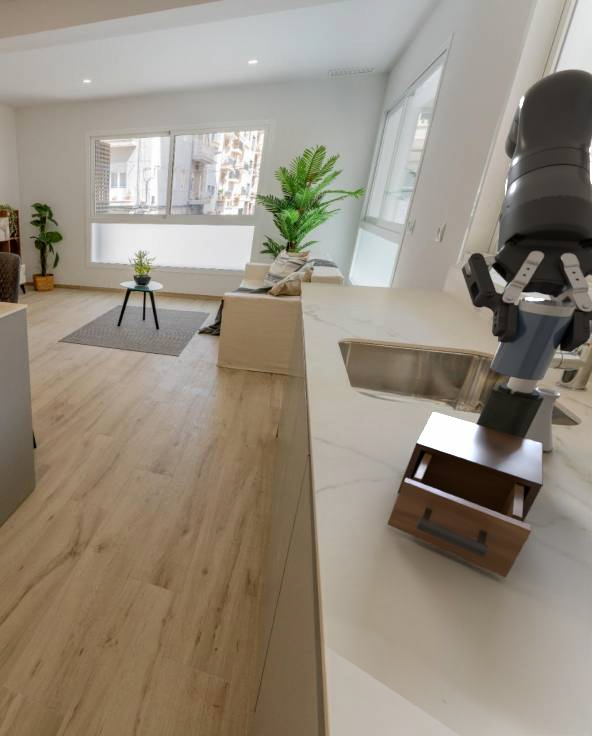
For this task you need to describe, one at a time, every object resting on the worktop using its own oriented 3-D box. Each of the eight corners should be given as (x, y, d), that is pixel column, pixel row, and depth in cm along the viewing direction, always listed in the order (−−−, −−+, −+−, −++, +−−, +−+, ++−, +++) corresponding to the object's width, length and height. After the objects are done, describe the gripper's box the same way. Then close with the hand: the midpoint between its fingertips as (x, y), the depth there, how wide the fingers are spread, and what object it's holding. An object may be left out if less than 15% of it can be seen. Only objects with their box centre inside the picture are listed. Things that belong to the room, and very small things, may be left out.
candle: (459, 456, 72) (521, 312, 62) (476, 450, 74) (539, 310, 64) (495, 473, 67) (568, 322, 58) (512, 467, 69) (586, 319, 60)
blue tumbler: (522, 366, 49) (553, 299, 46) (554, 382, 45) (590, 309, 42) (480, 363, 50) (508, 296, 47) (508, 378, 46) (540, 306, 43)
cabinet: (513, 540, 54) (542, 485, 51) (397, 492, 62) (416, 442, 59) (517, 492, 63) (542, 443, 60) (415, 456, 71) (432, 411, 68)
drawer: (503, 601, 45) (531, 552, 42) (379, 541, 52) (395, 496, 49) (510, 523, 56) (533, 480, 53) (407, 482, 63) (422, 443, 60)
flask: (495, 426, 82) (516, 379, 78) (547, 439, 78) (572, 390, 74) (500, 442, 76) (524, 392, 72) (557, 457, 72) (584, 405, 69)
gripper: (481, 191, 49) (467, 313, 44) (660, 194, 43) (669, 338, 38) (454, 235, 56) (440, 347, 51) (607, 244, 50) (608, 373, 44)
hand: (538, 342), depth 44 cm, fingers closed on blue tumbler, 4 cm apart
